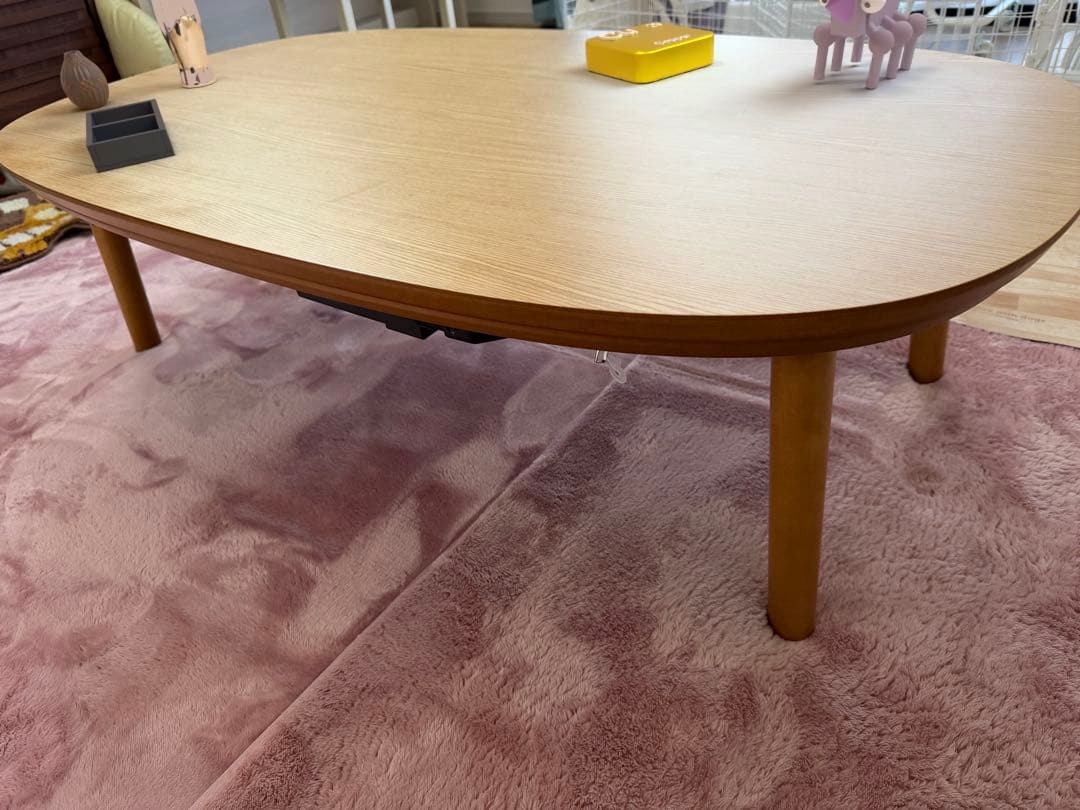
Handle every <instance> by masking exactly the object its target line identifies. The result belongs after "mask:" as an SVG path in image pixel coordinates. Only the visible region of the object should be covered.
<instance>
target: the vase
mask: <svg viewBox="0 0 1080 810" xmlns="http://www.w3.org/2000/svg"><path fill="white" fill-rule="evenodd" d="M59 74H60V75H59V77H60V78H59V79H60V84H61V87H62V90H63V93H64V94H65V96H66V97H67V98H68V100H69V101H70V102H71V103H72V104H73V105H75V107H77V108H79V109H81V110H93V109H99V108H102V107H104V106H105V105H107V103H108V101H109V98H110V87H109V84H108V81H107V78H106V76H105V74H104V73H103V72H102V70H101V69H100V68H99V67H98V65H97V64H95V63H94V62H93V61H92V60H90V59H89V58H87V57H86V56H84V55H83V53H82V52H81V51H80V50H70V51H67V52H64V53H63V62H62V65H61V69H60V73H59Z"/></svg>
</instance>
